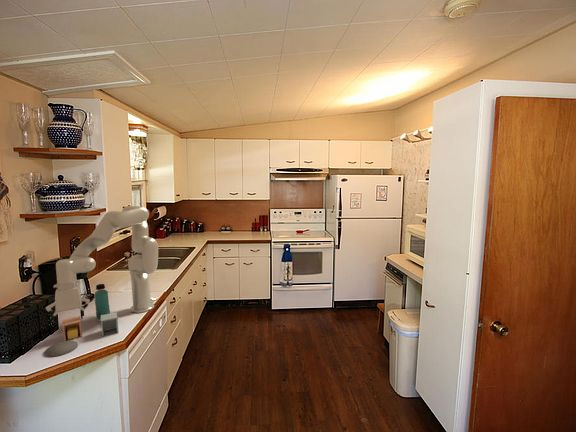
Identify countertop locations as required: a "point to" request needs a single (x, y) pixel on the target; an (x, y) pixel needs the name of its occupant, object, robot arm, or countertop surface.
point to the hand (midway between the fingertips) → (69, 320)
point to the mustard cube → (72, 332)
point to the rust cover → (71, 325)
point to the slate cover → (109, 322)
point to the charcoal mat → (61, 348)
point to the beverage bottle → (101, 301)
